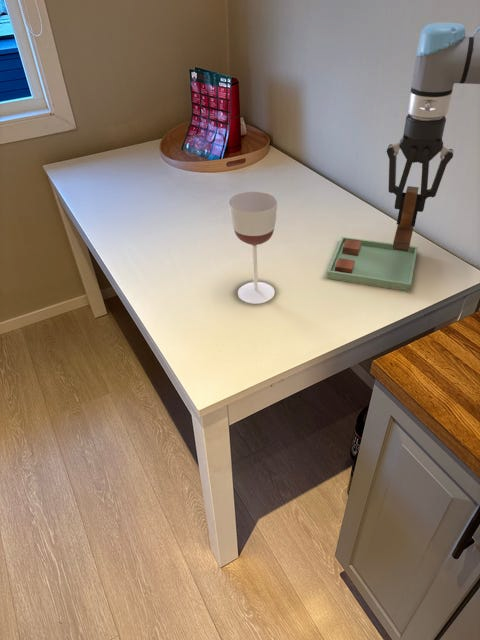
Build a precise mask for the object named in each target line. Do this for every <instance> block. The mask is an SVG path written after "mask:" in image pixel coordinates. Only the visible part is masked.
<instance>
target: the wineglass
mask: <svg viewBox="0 0 480 640" xmlns="http://www.w3.org/2000/svg"><path fill="white" fill-rule="evenodd" d="M228 208H229V214H230V219H231V225H232V227H233V231H234V233H235V236H236V237H237V238H238V239H239V240H240V241H241V242H243V243H245V244H247V245H250V246H252V265H253V266H252V267H253V281H251V282H248V283H245V284H243V285H241V287H239V289H238V291H237V296H238V298H239V299H240V300H241V301H243V302H245V303H247V304H255V305H257V304H263V303H266V302H268V301H270V300H272V299H273V298H274V296H275V294H276V293H275V289H274V287H273V286H272V285H270V284H268V283H266V282H262V281H259V280H258V279H259V277H258V250H257V248H258V247H257V246H258V245H262V244H264V243H266V242H269V240H270V239H272V237H273V234H274V231H275V226H276V222H277V212H278V200H277V198H276V197H275V196H274V195H272V194H269V193H267V192H262V191H246V192H241V193H237V194H235V195H233V196H232V197H230V199H229V200H228Z"/></svg>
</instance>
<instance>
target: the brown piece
mask: <svg viewBox="0 0 480 640" xmlns="http://www.w3.org/2000/svg"><path fill="white" fill-rule="evenodd" d="M419 190H420V187H419V186H411V185H410V186H409V185H407V187H406V190H405V193H406V195H405V200H404V206H403V211H402V217H401V222H400V225H398V224H397V226H396V229H395V234H394V238H393V243H392V244H393V250H399V251H406V252H408V250H409V247H410V246H411V241H412V237H413V231H414V226H411V224H412V219H413V214H414V209H415V204H416V199H417V194H419Z"/></svg>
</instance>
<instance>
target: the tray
mask: <svg viewBox="0 0 480 640" xmlns="http://www.w3.org/2000/svg"><path fill="white" fill-rule="evenodd" d="M346 240H352V241H360V242H361V249H360V252H359V254H358V256H354V255H347V254H342V251H343V246H344V243H345V241H346ZM418 249H419V247H418V246H414V245H410V247H409V250H408V252H406V251H399V250H393V243H391V242H384V241H376V240H369V239H363V238H362V239H361V238H355V237H347V236H341V237H340V239H339V243H338V245H337V247H336V250H335V252H334V254H333V257H332V259H331V261H330V264H329V266H328V269H327V272H326V279H329V280H335V281H342V282H347V283H354V284H360V285H367V286H372V287H378V288H384V289H392V290H397V291H404V292H409V293H410V291H411V287H412V281H413V276H414V270H415V265H416V259H417V254H418ZM338 258H342V259H349V260H355V264H354V269H353V272H352V274H349V273H343V272H336V271H335V266H336V263H337V261H338Z"/></svg>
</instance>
